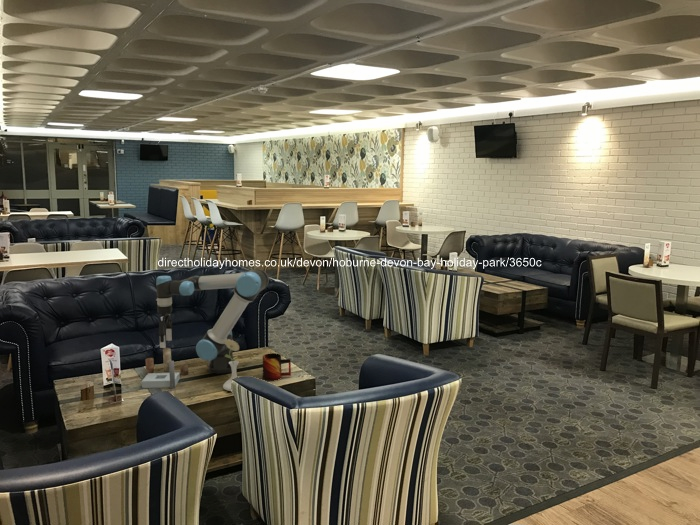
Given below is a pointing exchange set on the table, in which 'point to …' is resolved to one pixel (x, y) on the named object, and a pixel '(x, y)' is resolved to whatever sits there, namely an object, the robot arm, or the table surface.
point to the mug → (274, 367)
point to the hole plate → (162, 379)
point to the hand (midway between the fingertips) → (166, 344)
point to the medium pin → (149, 365)
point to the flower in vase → (231, 363)
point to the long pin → (166, 359)
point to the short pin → (184, 370)
